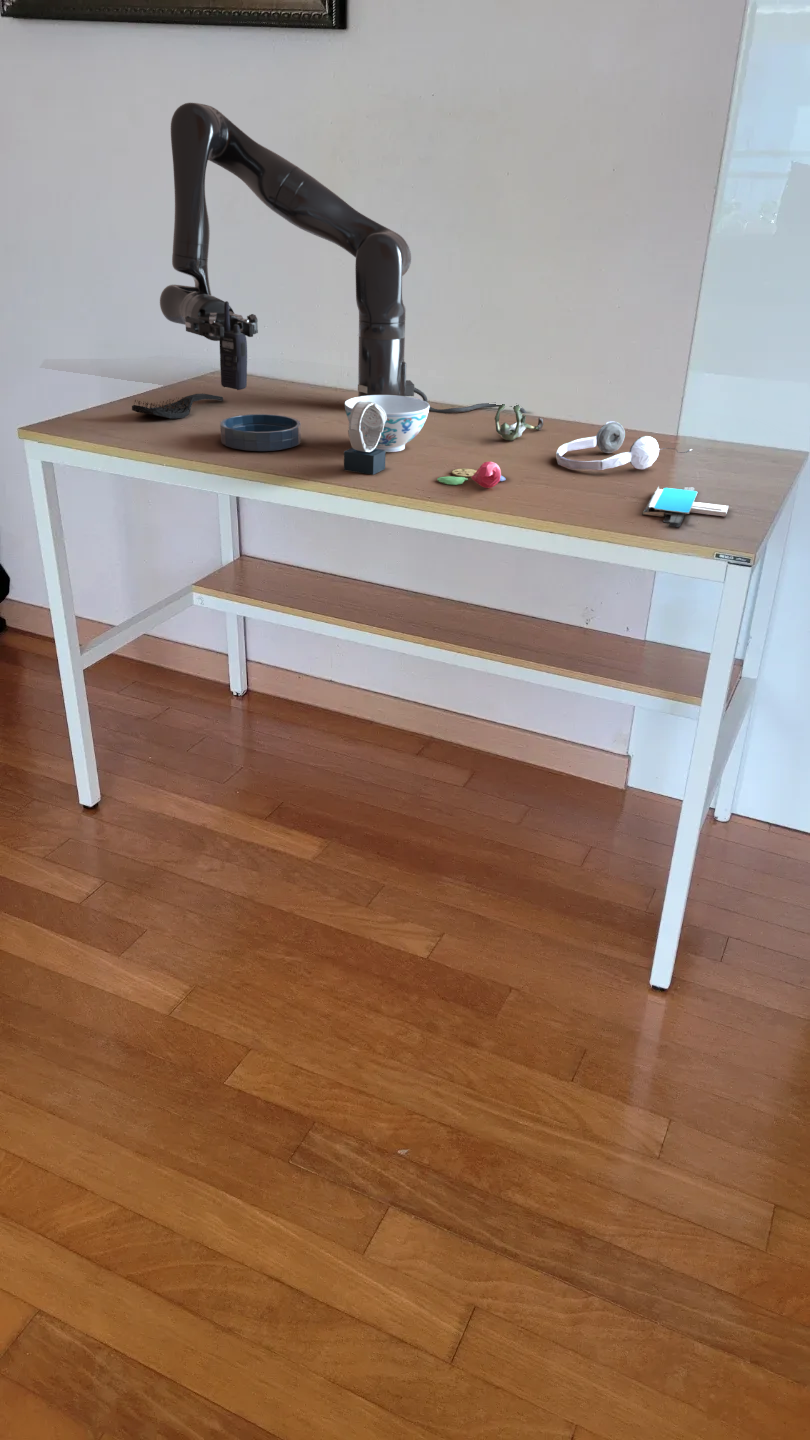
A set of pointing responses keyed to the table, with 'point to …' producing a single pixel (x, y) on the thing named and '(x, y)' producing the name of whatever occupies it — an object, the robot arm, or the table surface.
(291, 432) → the bowl
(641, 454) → the headphones
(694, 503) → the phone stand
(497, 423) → the zombie figurine
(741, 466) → the table surface
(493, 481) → the toy pieces
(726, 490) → the table surface
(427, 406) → the chinaware
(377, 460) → the watch
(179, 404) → the hairbrush
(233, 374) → the two-way radio
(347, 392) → the table surface
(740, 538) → the table surface
